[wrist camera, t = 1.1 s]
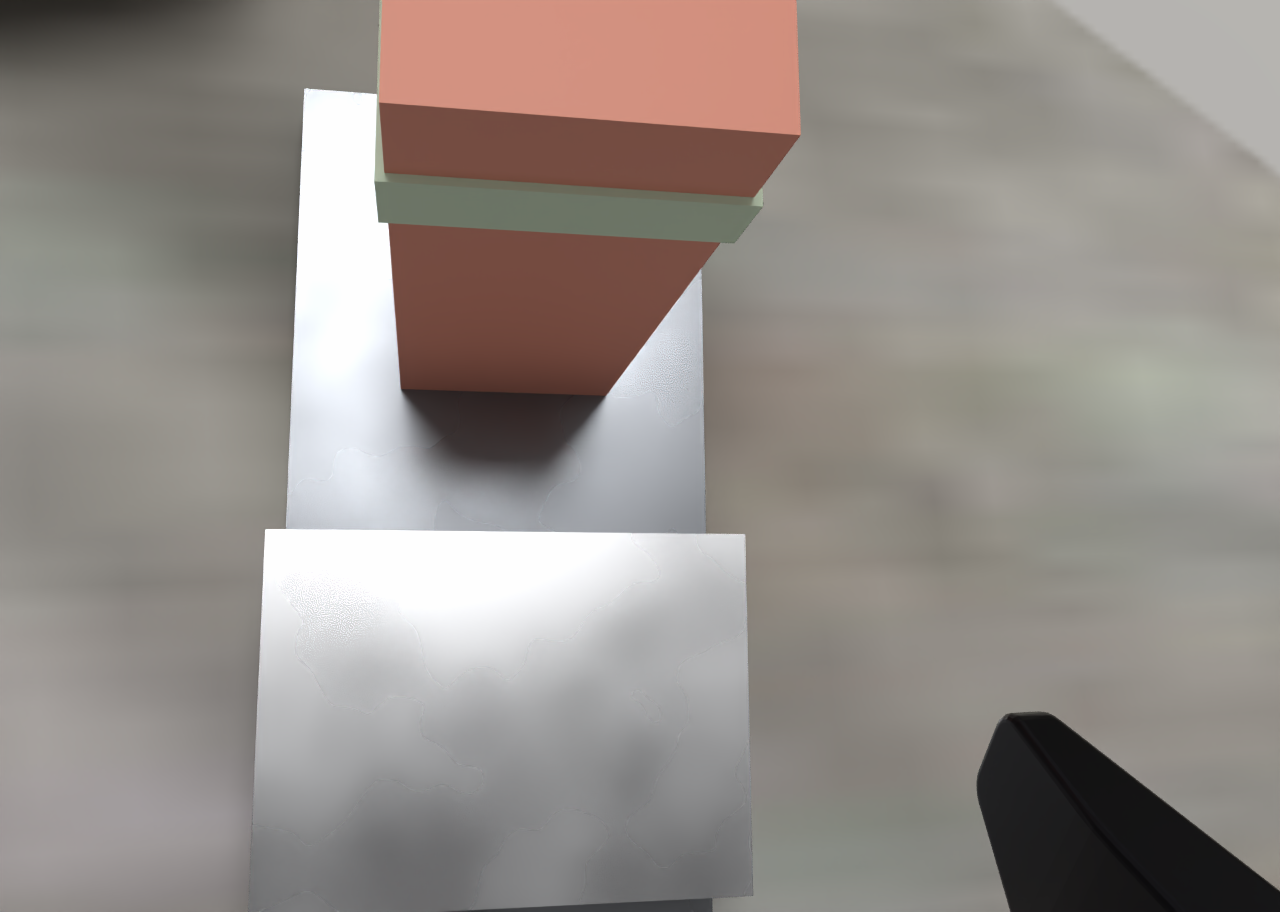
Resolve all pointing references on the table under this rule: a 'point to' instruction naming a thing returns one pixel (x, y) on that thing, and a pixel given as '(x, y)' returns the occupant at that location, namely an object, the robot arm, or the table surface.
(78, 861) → the table surface
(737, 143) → the salmon pink rectangular block
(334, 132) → the stand base
